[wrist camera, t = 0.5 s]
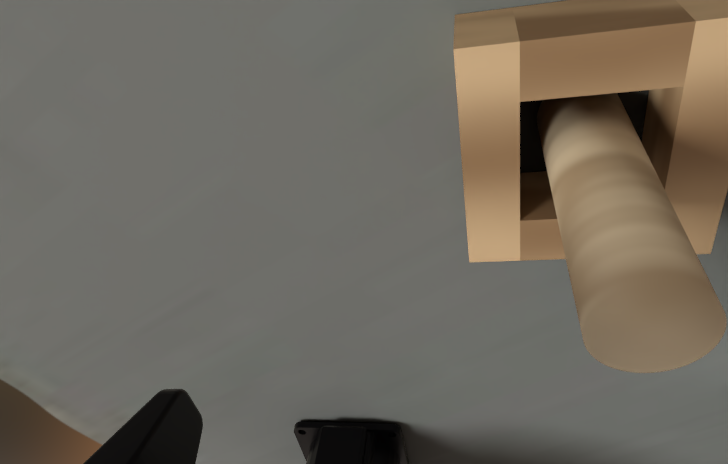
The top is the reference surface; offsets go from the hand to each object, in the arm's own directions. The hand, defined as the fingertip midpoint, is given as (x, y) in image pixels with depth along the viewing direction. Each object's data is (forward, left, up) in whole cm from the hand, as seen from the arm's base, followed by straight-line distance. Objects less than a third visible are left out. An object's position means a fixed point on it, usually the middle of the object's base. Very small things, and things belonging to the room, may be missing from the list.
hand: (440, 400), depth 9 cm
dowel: (-2, -4, -13) cm, 14 cm away
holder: (-2, -4, -13) cm, 14 cm away
